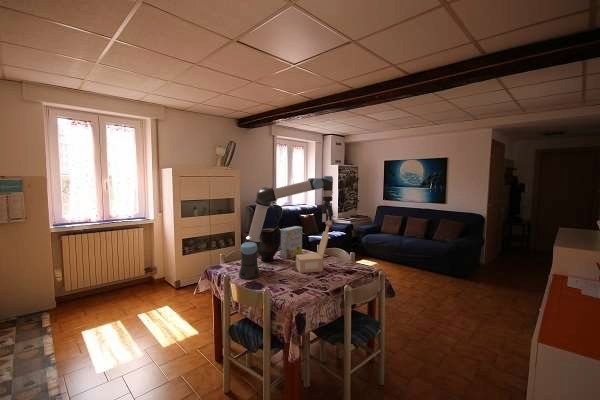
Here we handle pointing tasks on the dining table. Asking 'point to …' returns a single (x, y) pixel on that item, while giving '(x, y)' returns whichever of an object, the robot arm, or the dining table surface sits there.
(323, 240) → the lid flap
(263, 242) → the jug
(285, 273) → the dining table surface
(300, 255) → the carton
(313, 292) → the dining table surface
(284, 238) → the snack box
